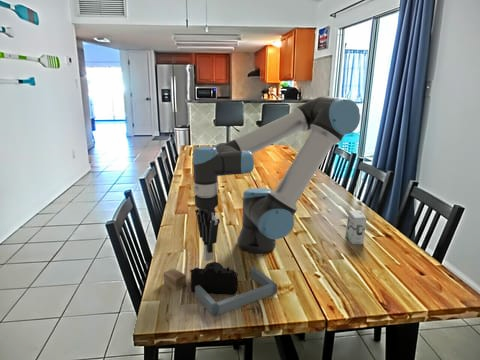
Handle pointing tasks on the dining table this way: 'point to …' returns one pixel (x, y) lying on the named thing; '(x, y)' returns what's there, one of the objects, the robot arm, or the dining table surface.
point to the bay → (241, 299)
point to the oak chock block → (174, 279)
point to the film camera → (215, 279)
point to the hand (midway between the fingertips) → (208, 259)
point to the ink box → (356, 227)
